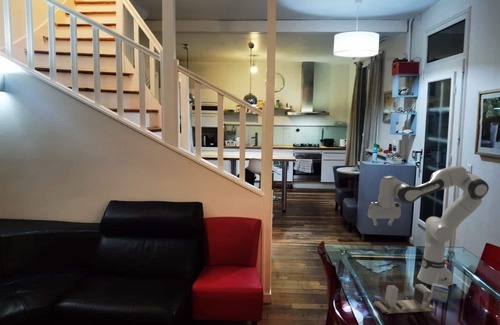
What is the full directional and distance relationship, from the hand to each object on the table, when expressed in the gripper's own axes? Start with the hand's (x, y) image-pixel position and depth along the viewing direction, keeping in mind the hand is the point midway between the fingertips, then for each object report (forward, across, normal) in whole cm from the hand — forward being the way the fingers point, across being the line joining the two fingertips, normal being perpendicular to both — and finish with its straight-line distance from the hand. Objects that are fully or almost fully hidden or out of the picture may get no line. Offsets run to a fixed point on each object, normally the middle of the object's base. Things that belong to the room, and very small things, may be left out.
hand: (382, 225), depth 219 cm
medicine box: (+34, +23, -27) cm, 49 cm away
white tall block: (+32, -12, -33) cm, 47 cm away
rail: (+34, -3, -33) cm, 47 cm away
